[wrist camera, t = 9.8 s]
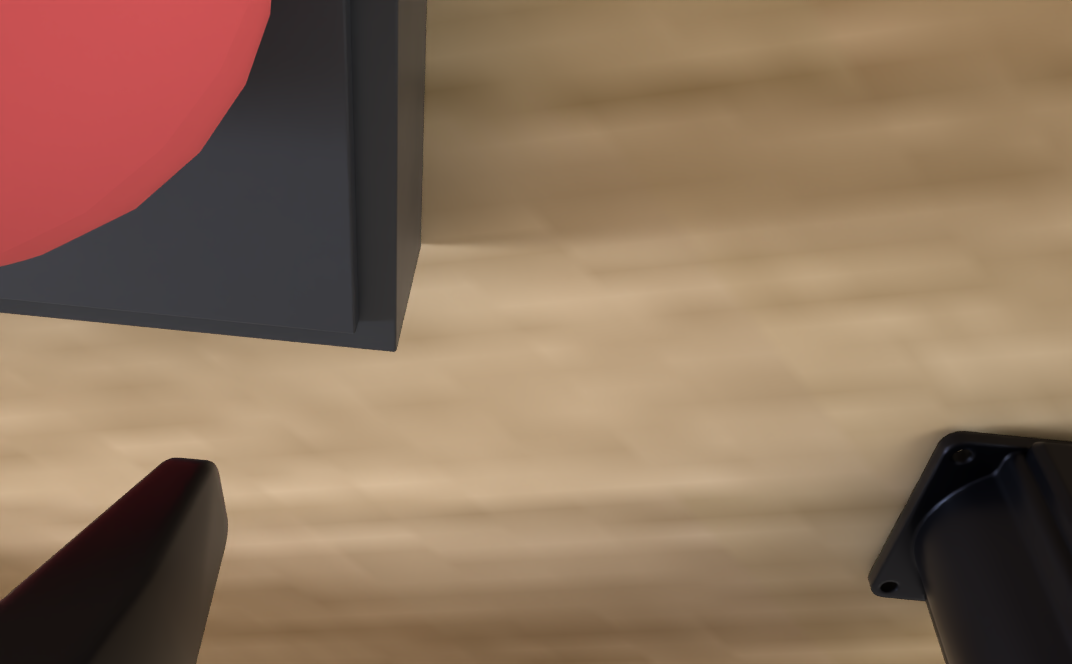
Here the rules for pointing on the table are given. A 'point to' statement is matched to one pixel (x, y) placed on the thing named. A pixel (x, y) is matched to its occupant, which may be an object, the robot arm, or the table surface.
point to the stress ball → (109, 105)
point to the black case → (274, 199)
